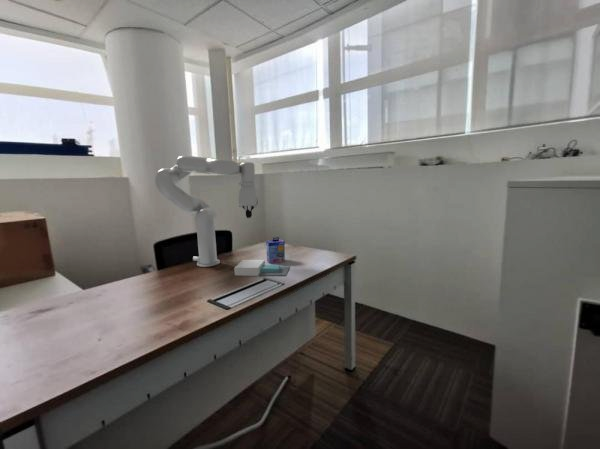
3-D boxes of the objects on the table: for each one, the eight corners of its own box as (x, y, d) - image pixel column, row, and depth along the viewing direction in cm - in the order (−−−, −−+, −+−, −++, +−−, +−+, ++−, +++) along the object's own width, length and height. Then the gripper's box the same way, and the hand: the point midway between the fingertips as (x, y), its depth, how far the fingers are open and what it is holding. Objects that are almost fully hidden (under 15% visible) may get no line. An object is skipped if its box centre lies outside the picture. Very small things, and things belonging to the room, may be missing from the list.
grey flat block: (234, 275, 137) (234, 267, 137) (243, 266, 151) (242, 259, 150) (258, 275, 136) (258, 267, 135) (264, 267, 150) (264, 259, 149)
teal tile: (260, 272, 140) (260, 268, 140) (263, 268, 146) (263, 264, 146) (278, 272, 139) (277, 268, 139) (280, 268, 145) (280, 265, 145)
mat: (259, 275, 136) (259, 274, 136) (265, 267, 150) (265, 266, 150) (285, 276, 135) (285, 275, 135) (289, 267, 148) (289, 266, 148)
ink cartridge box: (269, 263, 156) (268, 238, 154) (266, 261, 161) (265, 236, 158) (285, 261, 160) (284, 236, 158) (282, 259, 165) (281, 235, 163)
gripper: (232, 185, 152) (233, 218, 155) (259, 185, 150) (259, 218, 152) (237, 184, 159) (238, 216, 162) (262, 185, 157) (263, 217, 160)
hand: (248, 217), depth 157 cm, fingers closed
